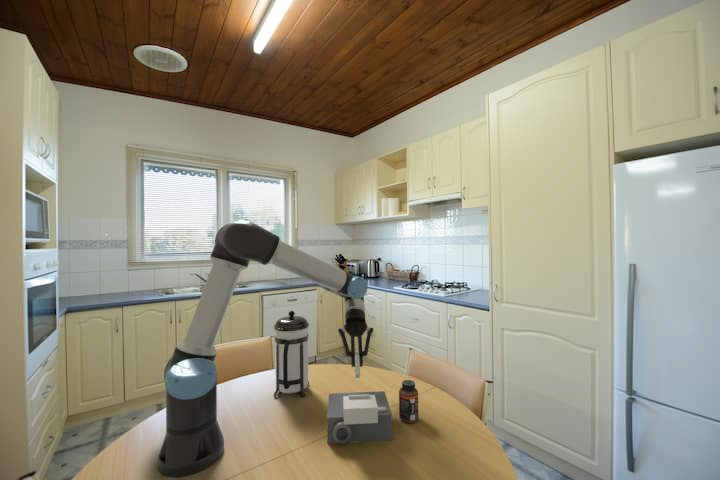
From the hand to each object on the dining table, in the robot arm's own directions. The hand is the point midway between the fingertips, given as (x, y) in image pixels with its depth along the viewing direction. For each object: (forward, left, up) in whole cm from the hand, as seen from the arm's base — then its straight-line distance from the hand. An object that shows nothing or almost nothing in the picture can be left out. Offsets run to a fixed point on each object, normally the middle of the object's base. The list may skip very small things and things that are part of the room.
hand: (357, 376), depth 101 cm
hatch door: (0, -16, -4) cm, 17 cm away
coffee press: (-23, +16, -12) cm, 31 cm away
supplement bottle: (+16, -5, -12) cm, 20 cm away
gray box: (0, -9, -12) cm, 15 cm away
